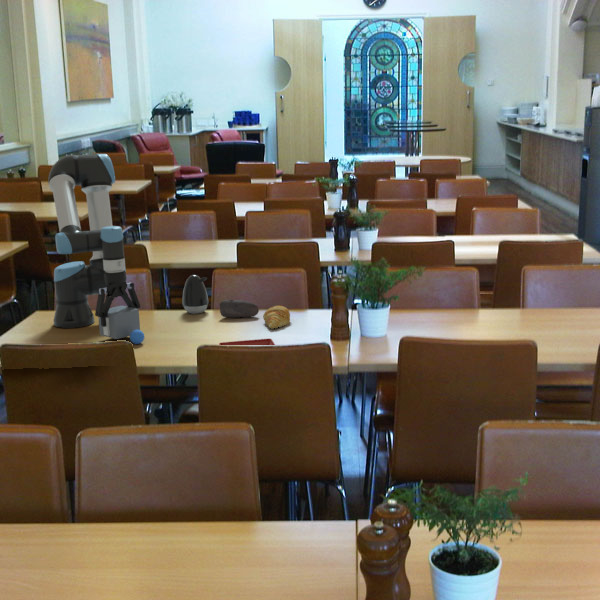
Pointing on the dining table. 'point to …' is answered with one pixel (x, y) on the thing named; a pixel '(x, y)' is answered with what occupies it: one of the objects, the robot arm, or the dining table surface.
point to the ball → (137, 336)
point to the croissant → (276, 316)
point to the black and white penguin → (195, 295)
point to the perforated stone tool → (238, 309)
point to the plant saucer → (250, 342)
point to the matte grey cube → (121, 321)
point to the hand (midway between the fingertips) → (119, 331)
